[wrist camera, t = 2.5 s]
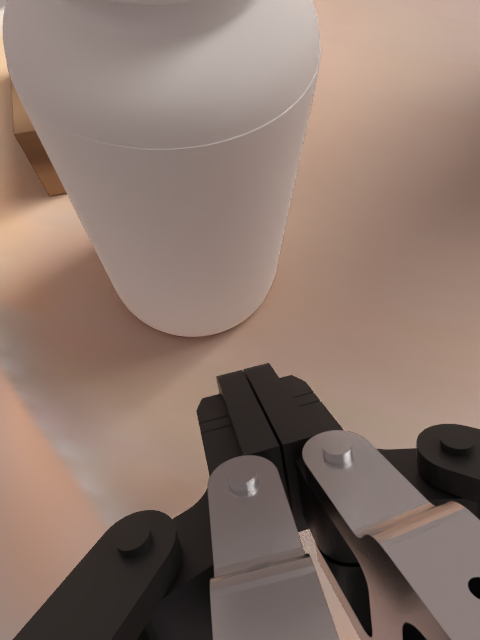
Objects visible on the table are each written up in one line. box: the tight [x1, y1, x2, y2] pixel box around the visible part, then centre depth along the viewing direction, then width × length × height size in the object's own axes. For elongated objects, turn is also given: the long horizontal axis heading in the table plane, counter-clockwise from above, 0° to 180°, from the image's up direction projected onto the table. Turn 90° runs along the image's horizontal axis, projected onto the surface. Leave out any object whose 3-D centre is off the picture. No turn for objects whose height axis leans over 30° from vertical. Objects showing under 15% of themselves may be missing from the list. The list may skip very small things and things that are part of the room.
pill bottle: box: [3, 0, 321, 337], centre depth 13 cm, size 8×8×15 cm
